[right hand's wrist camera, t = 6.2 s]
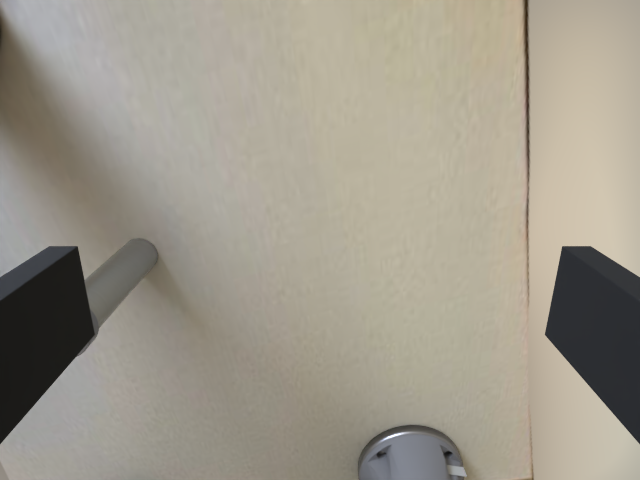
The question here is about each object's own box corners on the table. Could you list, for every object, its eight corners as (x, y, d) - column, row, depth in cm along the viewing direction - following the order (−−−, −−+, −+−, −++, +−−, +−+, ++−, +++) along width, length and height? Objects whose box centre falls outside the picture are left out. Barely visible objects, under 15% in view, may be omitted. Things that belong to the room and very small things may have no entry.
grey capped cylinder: (117, 255, 56) (29, 334, 39) (135, 231, 55) (53, 301, 38) (146, 275, 57) (72, 360, 40) (164, 252, 56) (96, 329, 39)
